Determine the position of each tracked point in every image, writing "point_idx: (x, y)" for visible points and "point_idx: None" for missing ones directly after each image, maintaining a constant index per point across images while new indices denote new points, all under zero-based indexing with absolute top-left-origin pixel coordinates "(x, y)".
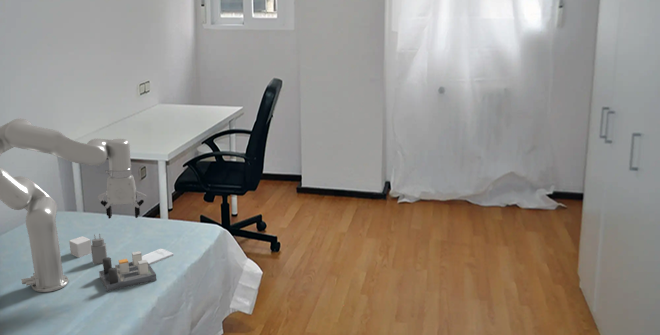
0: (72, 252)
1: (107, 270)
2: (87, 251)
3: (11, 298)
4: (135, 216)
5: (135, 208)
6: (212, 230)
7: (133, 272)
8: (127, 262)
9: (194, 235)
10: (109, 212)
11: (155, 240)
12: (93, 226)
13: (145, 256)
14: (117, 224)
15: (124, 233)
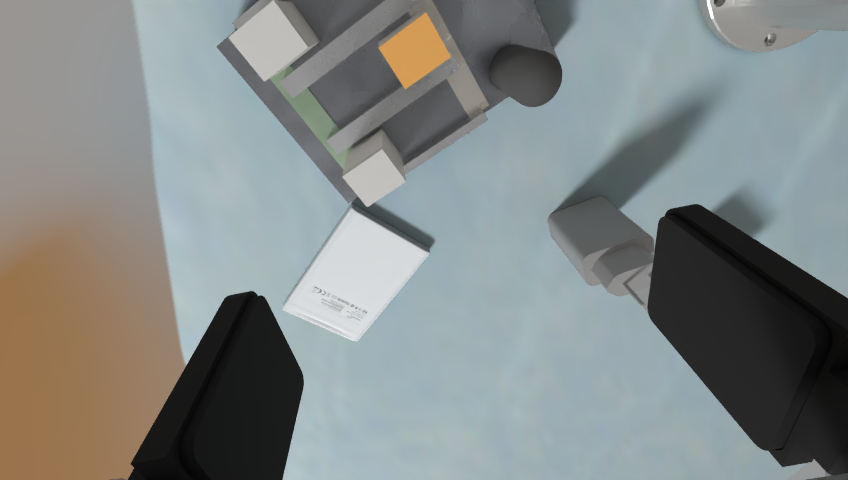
0: None
1: (511, 47)
2: None
3: None
4: (249, 306)
5: (163, 449)
6: None
7: (347, 29)
8: (383, 43)
9: None
10: (753, 271)
11: (412, 395)
12: (648, 443)
13: (391, 270)
14: (575, 463)
15: (538, 421)
